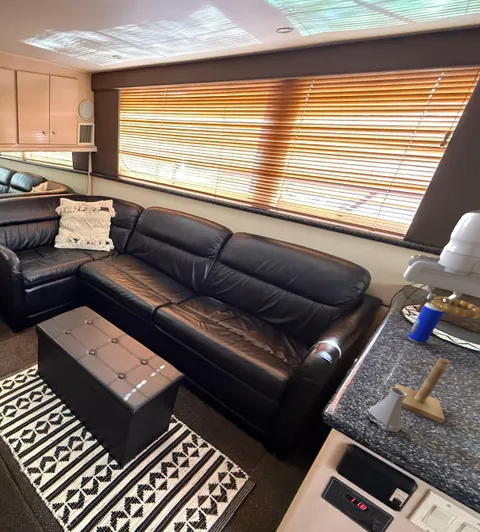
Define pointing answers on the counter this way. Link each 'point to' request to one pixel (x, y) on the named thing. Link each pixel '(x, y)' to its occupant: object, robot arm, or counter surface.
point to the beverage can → (425, 323)
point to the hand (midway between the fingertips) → (438, 301)
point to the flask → (389, 409)
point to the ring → (462, 310)
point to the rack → (426, 394)
